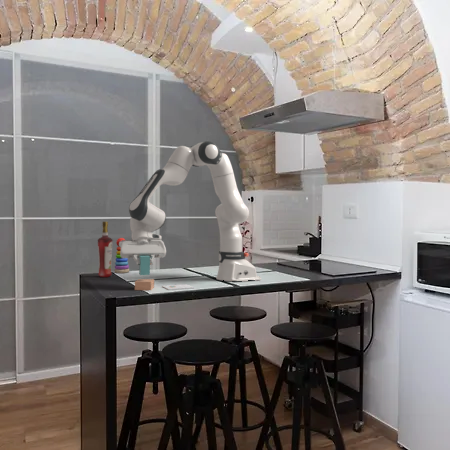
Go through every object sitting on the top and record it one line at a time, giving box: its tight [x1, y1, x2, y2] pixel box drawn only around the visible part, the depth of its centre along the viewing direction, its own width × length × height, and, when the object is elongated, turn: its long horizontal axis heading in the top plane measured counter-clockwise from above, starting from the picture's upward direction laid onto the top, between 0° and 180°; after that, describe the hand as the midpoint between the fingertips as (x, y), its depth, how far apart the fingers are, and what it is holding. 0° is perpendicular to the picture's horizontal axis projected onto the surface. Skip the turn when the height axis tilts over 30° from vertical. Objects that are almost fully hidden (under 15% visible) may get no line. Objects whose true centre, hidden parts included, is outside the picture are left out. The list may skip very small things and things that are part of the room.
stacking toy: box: [114, 237, 130, 274], centre depth 257 cm, size 8×8×19 cm
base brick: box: [134, 278, 155, 291], centre depth 208 cm, size 7×7×4 cm
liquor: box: [97, 221, 114, 278], centre depth 240 cm, size 7×7×28 cm
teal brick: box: [138, 256, 151, 276], centre depth 208 cm, size 4×4×8 cm
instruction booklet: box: [161, 283, 195, 291], centre depth 213 cm, size 12×9×1 cm
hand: (144, 264), depth 207 cm, fingers closed on teal brick, 4 cm apart
